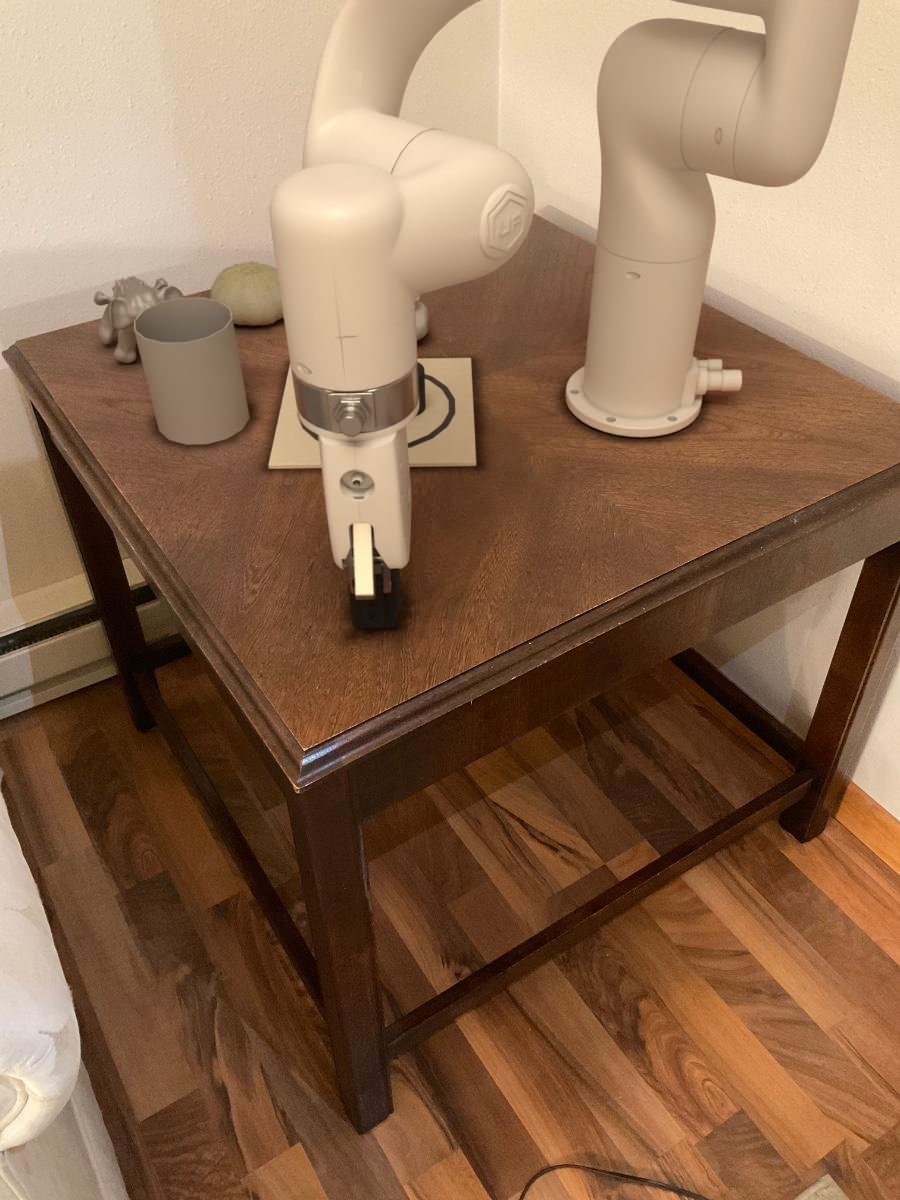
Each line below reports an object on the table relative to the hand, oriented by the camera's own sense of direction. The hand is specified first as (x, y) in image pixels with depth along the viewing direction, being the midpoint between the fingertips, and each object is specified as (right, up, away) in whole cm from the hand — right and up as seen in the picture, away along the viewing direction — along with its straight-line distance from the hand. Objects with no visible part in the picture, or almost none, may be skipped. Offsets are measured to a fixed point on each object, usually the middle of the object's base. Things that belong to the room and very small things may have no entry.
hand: (376, 602), depth 72 cm
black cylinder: (+1, +18, +20) cm, 27 cm away
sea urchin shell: (-16, +31, +35) cm, 49 cm away
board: (-1, +18, +20) cm, 27 cm away
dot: (0, 0, 0) cm, 0 cm away
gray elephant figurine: (-24, +25, +28) cm, 45 cm away
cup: (-17, +17, +19) cm, 31 cm away
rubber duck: (0, +27, +30) cm, 41 cm away
